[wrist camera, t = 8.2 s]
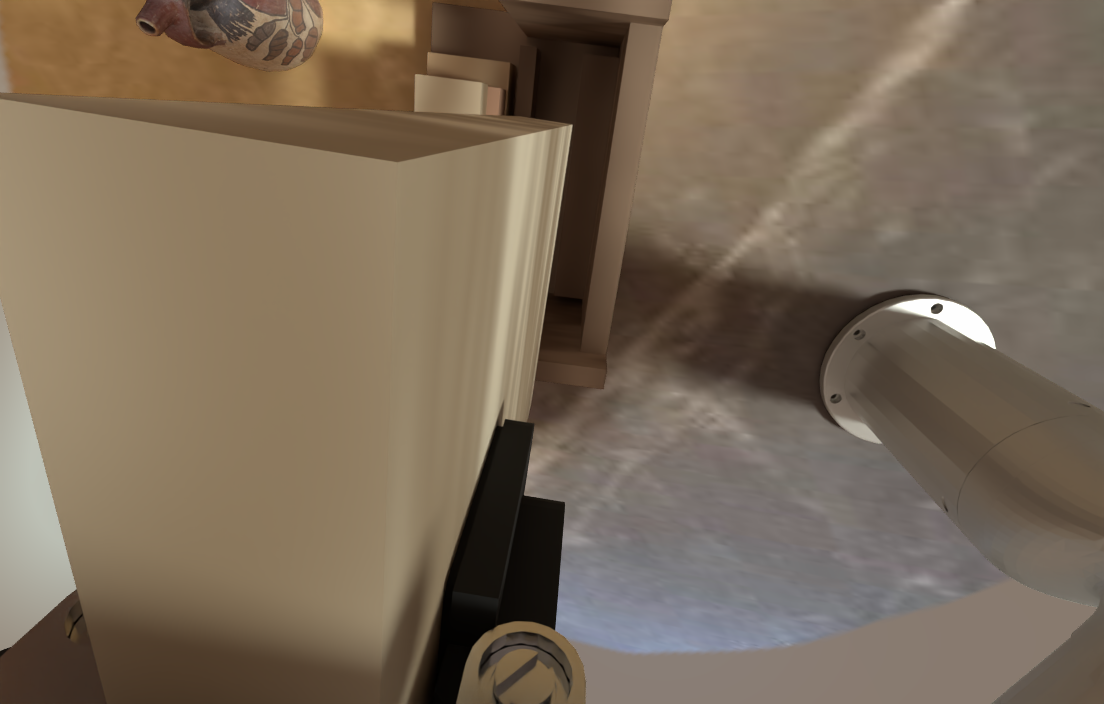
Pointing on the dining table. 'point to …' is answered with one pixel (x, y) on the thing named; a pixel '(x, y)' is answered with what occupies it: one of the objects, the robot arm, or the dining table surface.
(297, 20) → the figurine
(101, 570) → the birch sheet
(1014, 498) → the robot arm
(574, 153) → the walnut rack
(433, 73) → the offcut bundle
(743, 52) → the dining table surface
